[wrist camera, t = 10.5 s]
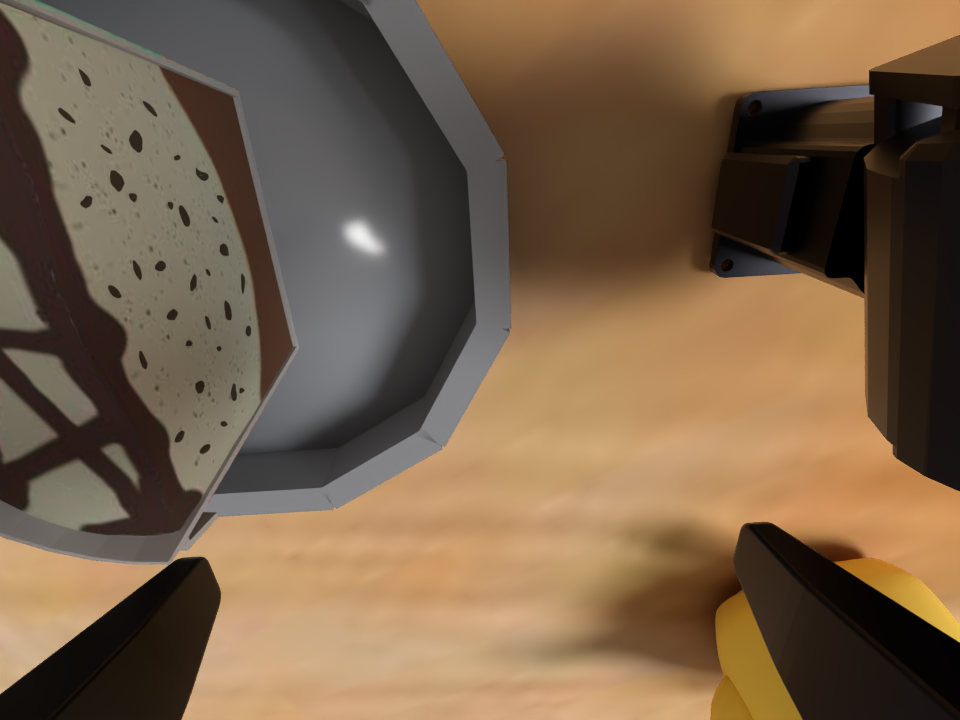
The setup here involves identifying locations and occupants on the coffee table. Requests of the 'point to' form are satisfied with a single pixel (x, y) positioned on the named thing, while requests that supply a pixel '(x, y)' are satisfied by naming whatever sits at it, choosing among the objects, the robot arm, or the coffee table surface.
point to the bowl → (352, 230)
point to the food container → (125, 291)
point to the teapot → (749, 667)
